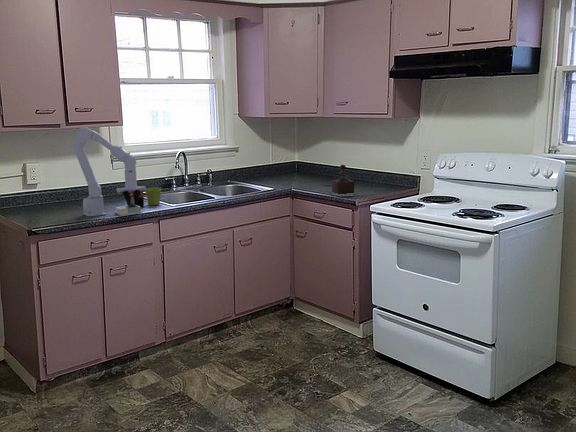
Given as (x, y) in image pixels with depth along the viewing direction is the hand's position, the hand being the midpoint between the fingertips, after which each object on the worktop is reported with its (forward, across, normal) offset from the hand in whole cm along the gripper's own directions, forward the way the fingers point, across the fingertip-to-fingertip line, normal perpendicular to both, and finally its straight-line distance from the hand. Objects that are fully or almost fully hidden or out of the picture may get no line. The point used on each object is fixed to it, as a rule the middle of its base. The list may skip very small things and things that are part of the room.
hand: (132, 205), depth 302 cm
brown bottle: (+4, +125, -20) cm, 126 cm away
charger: (+4, -2, 0) cm, 4 cm away
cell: (+2, 0, 0) cm, 2 cm away
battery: (+4, +7, +12) cm, 14 cm away
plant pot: (+4, +18, +15) cm, 24 cm away
